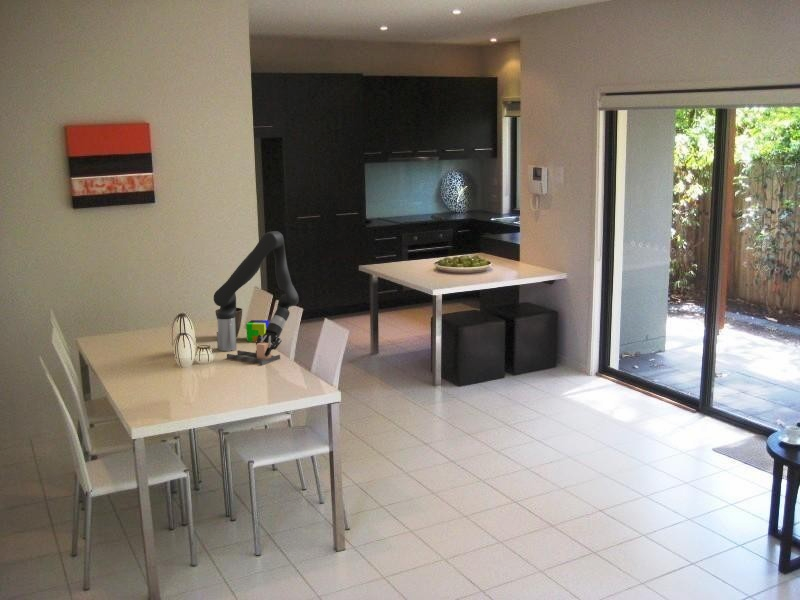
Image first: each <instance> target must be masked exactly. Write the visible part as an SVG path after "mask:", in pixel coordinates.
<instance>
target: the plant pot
mask: <svg viewBox="0 0 800 600" xmlns="http://www.w3.org/2000/svg"><path fill="white" fill-rule="evenodd" d="M219 310H220V308H218V309H216V310H215V312H214V313H215V317H216V318H217V313H218V312H219ZM242 317H243V308H241V307H236V313H235V325H236V337H237V338H238V336H239V334H240V333H239V332H240V328H241V325H242ZM216 320H217V319H216ZM217 322H218V320H217Z"/></svg>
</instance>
